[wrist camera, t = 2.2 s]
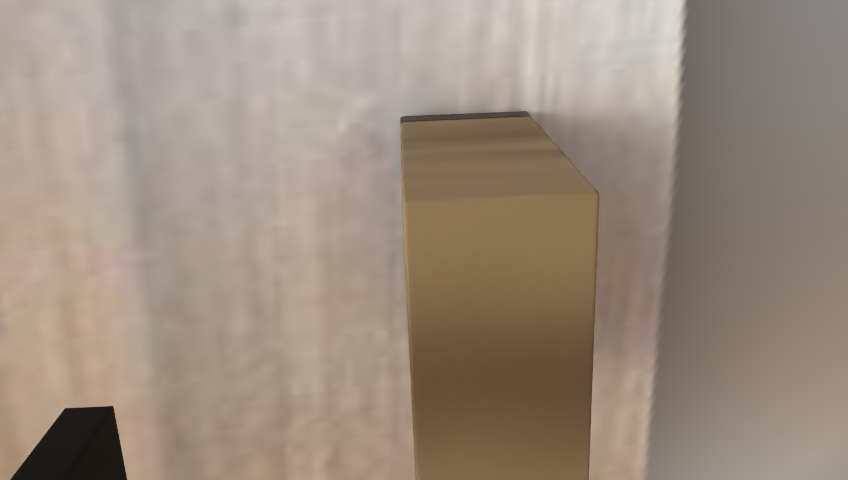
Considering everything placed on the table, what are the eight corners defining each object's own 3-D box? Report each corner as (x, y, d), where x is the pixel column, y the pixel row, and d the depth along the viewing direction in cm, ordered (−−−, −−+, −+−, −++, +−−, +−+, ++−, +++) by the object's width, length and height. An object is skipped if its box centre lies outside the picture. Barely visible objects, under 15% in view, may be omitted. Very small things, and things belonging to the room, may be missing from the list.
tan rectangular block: (400, 116, 22) (401, 200, 14) (527, 110, 22) (600, 191, 14) (411, 339, 24) (417, 521, 16) (525, 333, 25) (588, 512, 17)
